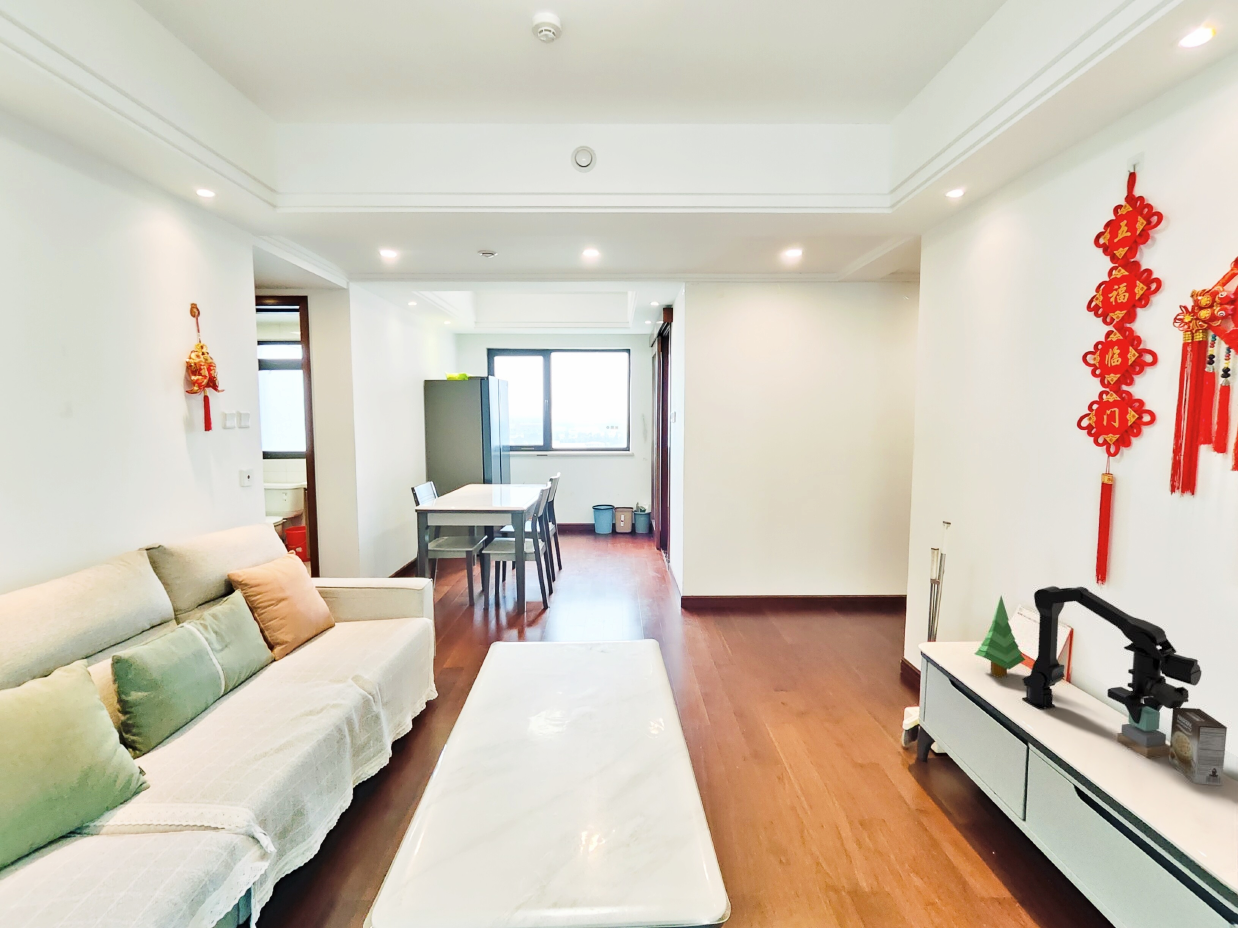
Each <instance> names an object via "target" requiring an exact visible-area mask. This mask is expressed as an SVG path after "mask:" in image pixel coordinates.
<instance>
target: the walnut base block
mask: <svg viewBox="0 0 1238 928" xmlns="http://www.w3.org/2000/svg"><path fill="white" fill-rule="evenodd" d="M1121 733H1122V732H1120V733H1117V735H1116V742H1117V743H1119V744H1120V745H1122V746H1124V747H1126V748H1127V749H1129V750H1131V751H1133V752H1135V753H1136V754H1138V755H1139V756H1142V757H1144V758H1145V759H1151V758H1152V759H1153V758H1159V757H1160V758H1161V757H1167V756H1168V757H1169V755H1170V744H1168V743H1166V744H1165V745H1160V746H1154V747H1148V748H1146V747H1144V746H1142V745H1140V744H1138V743H1136V742H1134V741H1133V740H1131V739H1129V738H1127V737H1125V736H1123V735H1121Z"/></svg>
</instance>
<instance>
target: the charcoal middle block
mask: <svg viewBox="0 0 1238 928" xmlns="http://www.w3.org/2000/svg"><path fill="white" fill-rule="evenodd" d="M1120 733H1121V735H1123V736H1125V737H1127V738H1129V739H1131V740H1133V741H1134V742H1136V743H1138V744H1140V745H1142V746H1144V747H1146V748H1148V747H1154V746H1160V745H1165V744H1167V743H1166V740H1167V734H1166V733H1164V732H1162V731H1161V730H1159V729H1157V730H1150V731H1144V730H1142V729H1140V728H1138V727H1136V726H1134V725H1133V724H1131V723H1124V724H1121V732H1120Z"/></svg>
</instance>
